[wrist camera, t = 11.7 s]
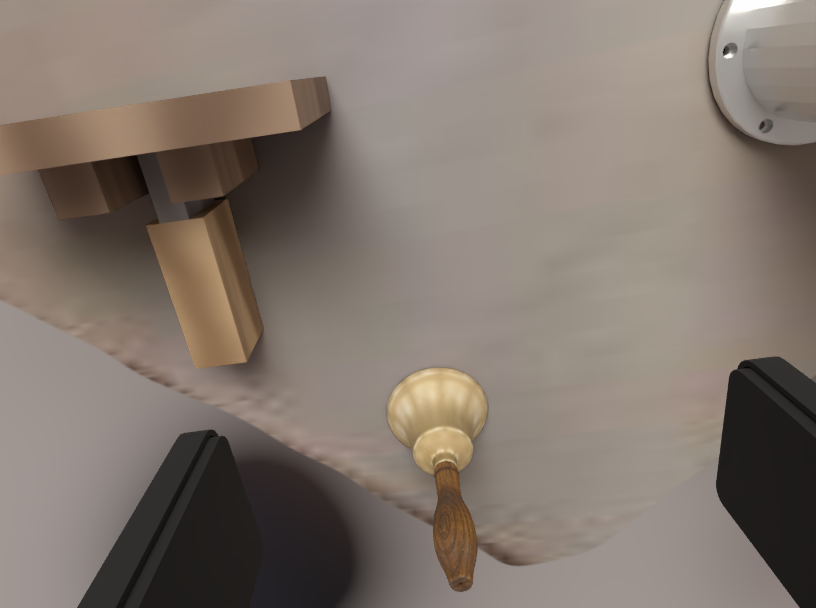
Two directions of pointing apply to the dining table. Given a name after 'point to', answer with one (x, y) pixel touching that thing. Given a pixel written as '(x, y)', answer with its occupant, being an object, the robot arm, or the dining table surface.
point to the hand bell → (443, 455)
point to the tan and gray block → (203, 273)
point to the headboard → (157, 144)
